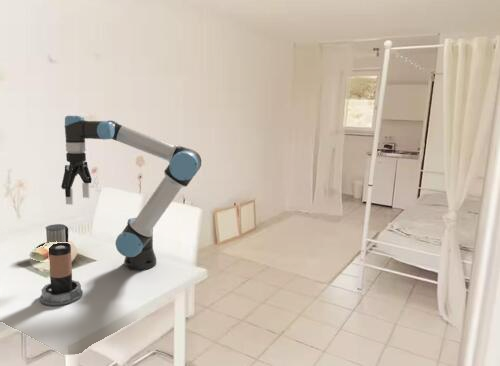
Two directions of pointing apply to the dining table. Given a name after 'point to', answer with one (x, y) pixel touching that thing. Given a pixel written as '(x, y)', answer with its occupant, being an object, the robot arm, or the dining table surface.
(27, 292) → the dining table surface
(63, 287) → the travel mug
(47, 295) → the collar
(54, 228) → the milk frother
